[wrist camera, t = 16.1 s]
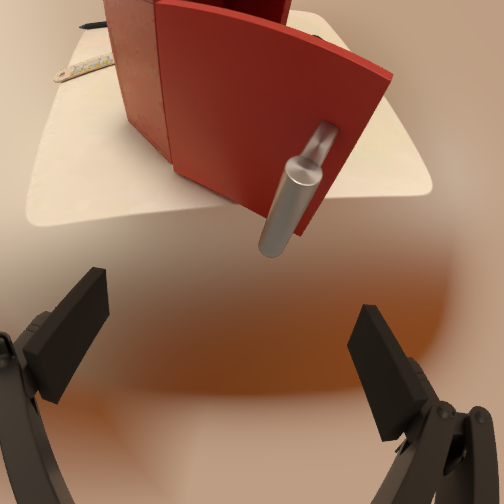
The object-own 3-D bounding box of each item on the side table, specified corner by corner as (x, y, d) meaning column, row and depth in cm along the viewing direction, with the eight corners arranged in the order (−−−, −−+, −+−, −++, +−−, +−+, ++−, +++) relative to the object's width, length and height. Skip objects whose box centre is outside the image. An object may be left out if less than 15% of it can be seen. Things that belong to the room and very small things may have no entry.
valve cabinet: (267, 108, 30) (299, -31, 15) (171, 164, 26) (153, -8, 11) (218, 74, 31) (229, -50, 16) (128, 120, 27) (99, -22, 12)
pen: (81, 28, 35) (80, 23, 34) (163, 22, 36) (163, 16, 35) (78, 31, 35) (76, 26, 34) (161, 24, 36) (161, 18, 35)
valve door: (276, 283, 22) (369, 139, 8) (143, 209, 23) (89, 39, 9) (304, 229, 24) (393, 73, 10) (179, 164, 25) (165, -3, 11)
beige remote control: (51, 82, 28) (53, 71, 29) (52, 85, 29) (54, 74, 30) (127, 56, 30) (125, 46, 31) (127, 60, 31) (126, 50, 32)
